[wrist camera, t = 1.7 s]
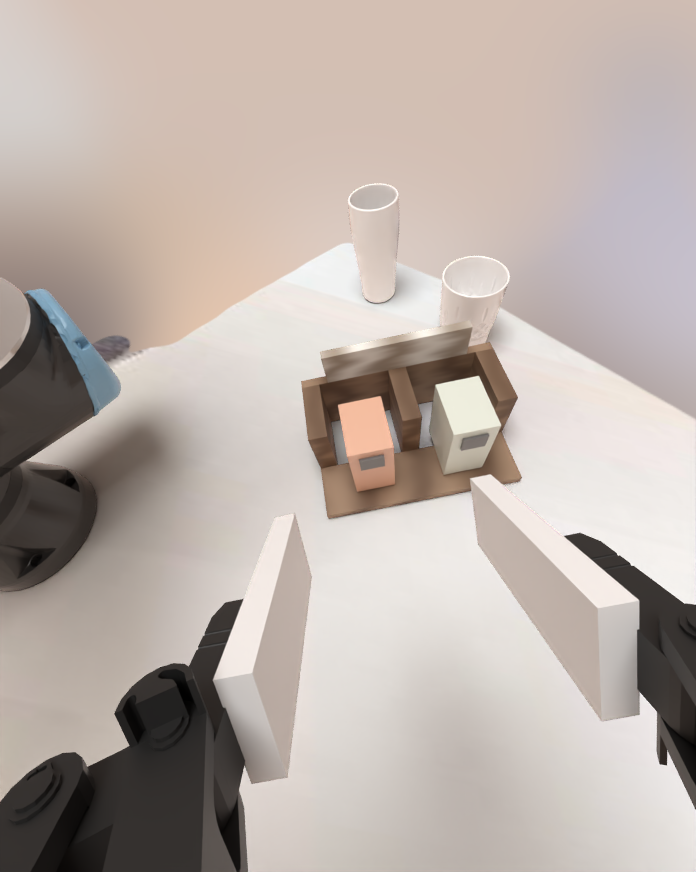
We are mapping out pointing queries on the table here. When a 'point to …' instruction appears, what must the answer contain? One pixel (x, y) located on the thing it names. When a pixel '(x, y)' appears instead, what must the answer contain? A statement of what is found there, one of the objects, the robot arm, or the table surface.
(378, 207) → the drinking glass
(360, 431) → the peach rectangular block
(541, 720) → the table surface
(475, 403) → the cream rectangular block
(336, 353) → the wooden rack
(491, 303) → the white cup
